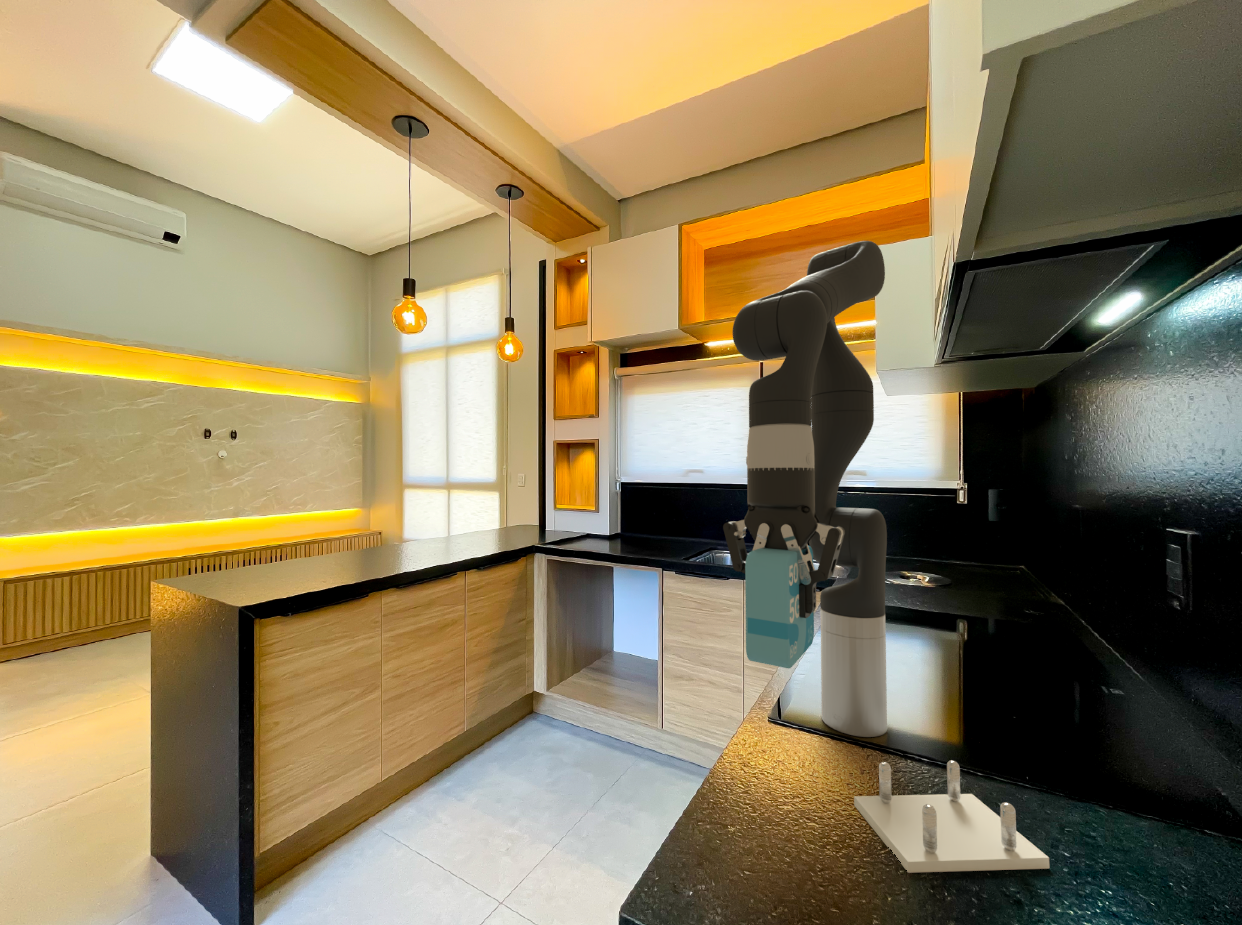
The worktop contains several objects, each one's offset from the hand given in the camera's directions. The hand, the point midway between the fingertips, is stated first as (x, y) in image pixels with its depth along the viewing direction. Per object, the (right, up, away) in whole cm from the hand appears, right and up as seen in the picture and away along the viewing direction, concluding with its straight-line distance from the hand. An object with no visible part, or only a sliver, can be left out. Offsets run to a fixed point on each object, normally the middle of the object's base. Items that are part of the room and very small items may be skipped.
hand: (781, 612), depth 58 cm
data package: (0, -5, 0) cm, 5 cm away
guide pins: (+15, -22, -5) cm, 27 cm away
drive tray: (+15, -22, -5) cm, 27 cm away
